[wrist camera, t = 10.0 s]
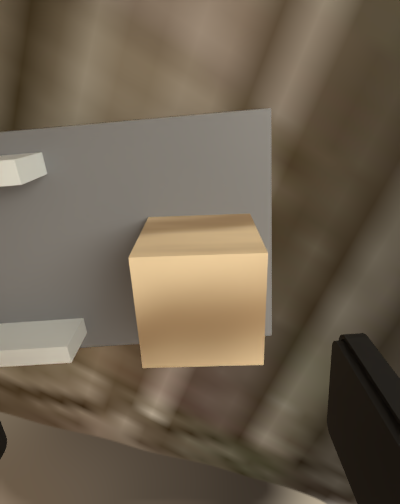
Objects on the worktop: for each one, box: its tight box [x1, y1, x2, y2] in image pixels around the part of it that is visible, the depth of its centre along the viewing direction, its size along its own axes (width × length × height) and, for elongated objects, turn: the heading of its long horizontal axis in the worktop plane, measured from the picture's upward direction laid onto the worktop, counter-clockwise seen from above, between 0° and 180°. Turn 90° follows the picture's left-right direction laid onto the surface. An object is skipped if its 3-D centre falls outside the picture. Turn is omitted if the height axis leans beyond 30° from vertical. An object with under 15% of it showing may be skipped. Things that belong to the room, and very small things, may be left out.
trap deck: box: [0, 108, 272, 367], centre depth 18 cm, size 12×25×4 cm, turn 95°
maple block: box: [128, 214, 268, 368], centre depth 16 cm, size 5×5×5 cm
